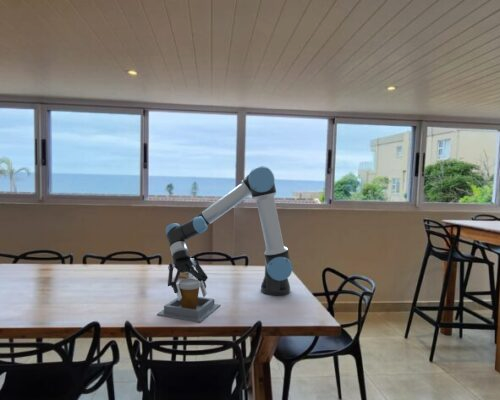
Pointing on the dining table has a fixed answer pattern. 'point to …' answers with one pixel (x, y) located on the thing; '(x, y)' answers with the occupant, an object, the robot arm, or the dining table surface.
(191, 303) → the disposable coffee cup
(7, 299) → the dining table surface
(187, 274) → the small box
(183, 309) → the tray
